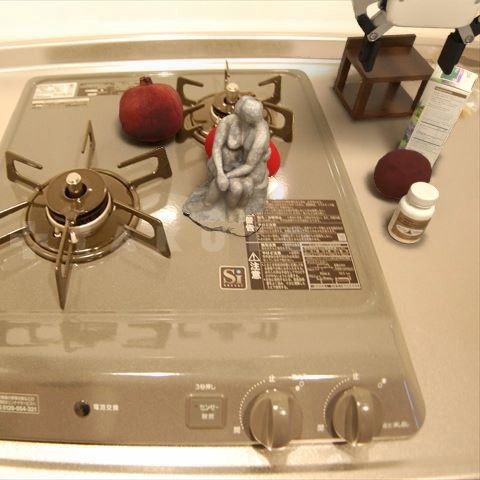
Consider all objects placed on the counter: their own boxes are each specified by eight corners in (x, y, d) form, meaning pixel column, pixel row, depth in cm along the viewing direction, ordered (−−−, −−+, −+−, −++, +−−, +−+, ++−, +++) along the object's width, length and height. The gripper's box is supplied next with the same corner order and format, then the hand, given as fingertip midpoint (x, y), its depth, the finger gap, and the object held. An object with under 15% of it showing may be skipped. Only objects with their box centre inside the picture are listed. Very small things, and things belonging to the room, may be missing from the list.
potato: (430, 198, 80) (450, 160, 74) (392, 216, 77) (410, 178, 72) (393, 170, 84) (409, 132, 79) (355, 185, 81) (370, 147, 76)
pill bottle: (387, 241, 74) (408, 199, 68) (386, 218, 77) (406, 176, 71) (421, 247, 73) (445, 205, 67) (419, 224, 76) (441, 182, 70)
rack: (395, 84, 101) (414, 33, 93) (420, 116, 94) (443, 63, 87) (332, 88, 99) (347, 36, 92) (353, 120, 93) (371, 67, 85)
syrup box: (401, 143, 89) (436, 60, 78) (438, 155, 87) (480, 72, 76) (391, 162, 85) (427, 78, 75) (430, 175, 83) (472, 91, 73)
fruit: (110, 148, 88) (98, 84, 84) (155, 132, 94) (145, 72, 90) (156, 152, 80) (144, 82, 76) (201, 134, 86) (192, 69, 82)
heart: (210, 98, 77) (214, 139, 86) (194, 128, 76) (199, 166, 85) (289, 123, 74) (285, 163, 83) (274, 155, 72) (271, 192, 81)
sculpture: (182, 80, 67) (269, 71, 70) (170, 194, 79) (244, 182, 82) (217, 130, 59) (312, 117, 63) (198, 247, 72) (278, 231, 75)
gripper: (532, -96, 58) (463, 54, 70) (368, -101, 58) (328, 50, 70) (566, -71, 53) (485, 86, 65) (387, -77, 53) (340, 82, 65)
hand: (404, 67), depth 68 cm, fingers open, 9 cm apart
